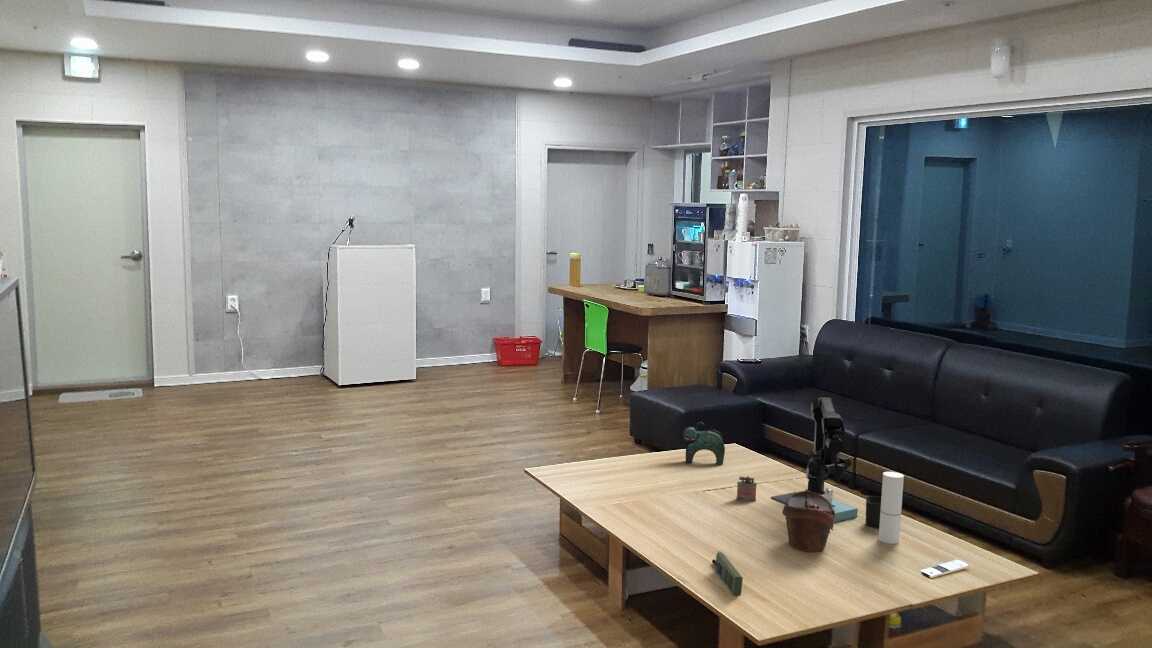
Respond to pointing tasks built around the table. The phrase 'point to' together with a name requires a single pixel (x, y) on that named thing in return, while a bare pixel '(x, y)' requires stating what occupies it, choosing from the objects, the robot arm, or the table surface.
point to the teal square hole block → (843, 510)
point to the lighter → (746, 489)
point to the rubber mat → (783, 497)
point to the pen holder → (873, 511)
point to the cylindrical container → (891, 507)
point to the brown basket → (808, 520)
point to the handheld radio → (728, 574)
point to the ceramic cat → (703, 443)
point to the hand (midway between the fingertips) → (828, 484)
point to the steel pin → (829, 495)
